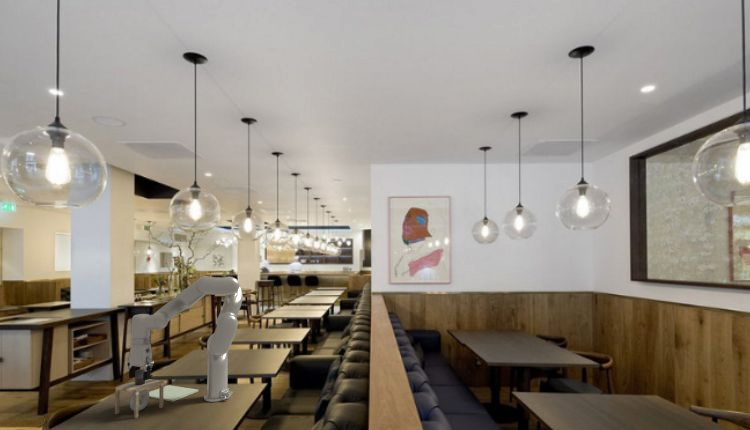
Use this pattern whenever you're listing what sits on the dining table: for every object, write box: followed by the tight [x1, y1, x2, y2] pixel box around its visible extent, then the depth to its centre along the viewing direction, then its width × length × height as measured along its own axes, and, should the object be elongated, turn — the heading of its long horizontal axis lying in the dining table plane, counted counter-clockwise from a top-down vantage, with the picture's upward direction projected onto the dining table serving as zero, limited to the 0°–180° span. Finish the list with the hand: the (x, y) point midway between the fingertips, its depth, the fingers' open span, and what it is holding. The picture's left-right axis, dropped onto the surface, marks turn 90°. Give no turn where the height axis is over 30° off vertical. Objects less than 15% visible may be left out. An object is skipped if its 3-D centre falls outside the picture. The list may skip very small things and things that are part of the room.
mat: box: [148, 384, 199, 403], centre depth 219 cm, size 22×16×1 cm
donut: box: [129, 389, 150, 412], centre depth 197 cm, size 10×4×10 cm, turn 162°
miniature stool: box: [114, 369, 165, 419], centre depth 198 cm, size 14×14×18 cm
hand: (139, 378), depth 198 cm, fingers open, 9 cm apart
